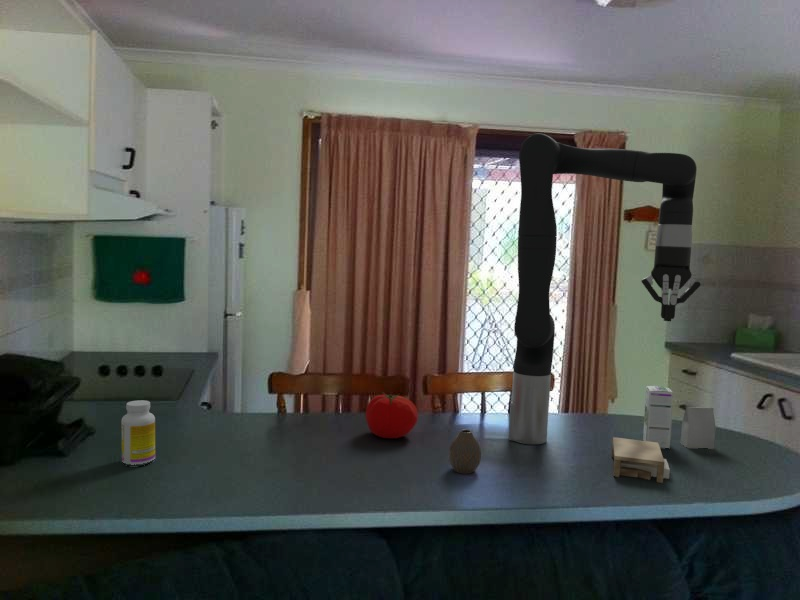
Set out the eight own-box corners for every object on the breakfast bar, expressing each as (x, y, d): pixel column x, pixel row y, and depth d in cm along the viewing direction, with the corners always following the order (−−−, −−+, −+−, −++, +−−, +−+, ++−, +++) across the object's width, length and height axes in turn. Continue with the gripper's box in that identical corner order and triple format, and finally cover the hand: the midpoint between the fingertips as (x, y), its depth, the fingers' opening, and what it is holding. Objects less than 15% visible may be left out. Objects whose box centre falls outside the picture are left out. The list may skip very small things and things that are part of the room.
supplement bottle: (162, 460, 139) (162, 401, 137) (137, 469, 133) (137, 408, 131) (139, 454, 141) (139, 397, 140) (114, 463, 135) (114, 404, 134)
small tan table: (613, 476, 139) (614, 455, 139) (611, 456, 153) (612, 437, 152) (662, 483, 137) (664, 462, 136) (656, 461, 150) (658, 442, 150)
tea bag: (713, 449, 161) (716, 410, 160) (686, 448, 161) (690, 409, 160) (706, 444, 165) (709, 406, 164) (680, 443, 165) (683, 405, 164)
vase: (459, 478, 135) (461, 437, 134) (442, 467, 141) (444, 428, 140) (486, 473, 138) (488, 433, 137) (468, 463, 144) (470, 425, 143)
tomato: (354, 434, 162) (355, 393, 161) (387, 425, 171) (388, 385, 170) (394, 447, 153) (396, 403, 152) (426, 436, 162) (428, 395, 161)
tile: (620, 474, 142) (621, 463, 142) (618, 463, 149) (619, 453, 149) (668, 480, 140) (669, 469, 139) (665, 469, 146) (666, 459, 146)
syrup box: (670, 449, 160) (675, 391, 158) (645, 446, 161) (649, 389, 159) (665, 442, 165) (670, 386, 164) (641, 440, 166) (645, 384, 165)
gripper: (643, 243, 144) (637, 320, 146) (708, 246, 141) (701, 325, 142) (641, 243, 151) (635, 317, 153) (702, 246, 148) (696, 321, 149)
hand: (667, 320), depth 148 cm, fingers closed
